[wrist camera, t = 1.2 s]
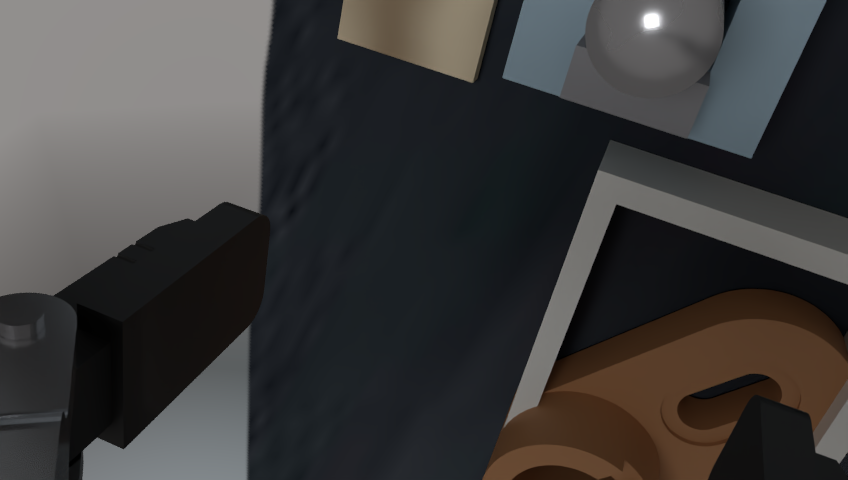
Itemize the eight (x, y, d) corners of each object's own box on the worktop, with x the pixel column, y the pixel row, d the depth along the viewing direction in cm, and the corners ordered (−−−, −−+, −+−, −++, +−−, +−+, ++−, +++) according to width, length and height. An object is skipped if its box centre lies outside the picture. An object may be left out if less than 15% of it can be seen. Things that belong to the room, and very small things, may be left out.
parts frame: (935, 247, 33) (958, 292, 30) (708, 593, 45) (707, 653, 42) (610, 139, 36) (598, 169, 32) (479, 493, 48) (461, 542, 45)
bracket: (562, 497, 46) (539, 592, 40) (484, 390, 44) (448, 473, 38) (882, 400, 37) (913, 504, 31) (797, 261, 35) (812, 343, 29)
